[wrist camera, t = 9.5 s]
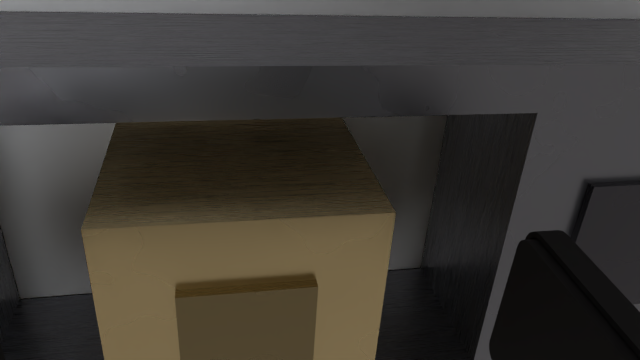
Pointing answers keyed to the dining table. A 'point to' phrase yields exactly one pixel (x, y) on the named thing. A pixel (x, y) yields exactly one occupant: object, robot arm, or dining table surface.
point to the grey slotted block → (366, 101)
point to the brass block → (237, 242)
